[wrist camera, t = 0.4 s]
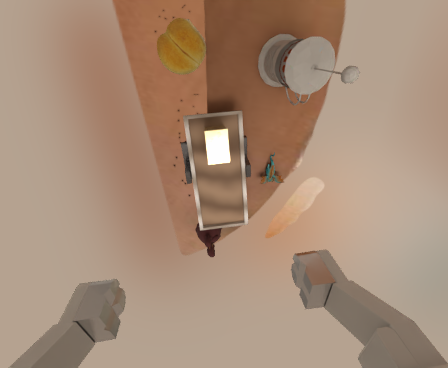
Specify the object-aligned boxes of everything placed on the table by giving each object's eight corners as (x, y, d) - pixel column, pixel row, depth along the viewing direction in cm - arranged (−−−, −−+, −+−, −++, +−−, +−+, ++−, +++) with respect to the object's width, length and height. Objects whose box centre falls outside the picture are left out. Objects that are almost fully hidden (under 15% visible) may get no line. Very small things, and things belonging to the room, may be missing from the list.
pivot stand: (181, 142, 52) (179, 158, 45) (245, 135, 53) (253, 150, 46) (187, 177, 58) (186, 196, 50) (246, 170, 59) (253, 188, 51)
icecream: (221, 217, 67) (227, 257, 54) (198, 222, 67) (199, 263, 54) (217, 200, 63) (222, 239, 51) (192, 206, 63) (192, 245, 51)
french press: (304, 28, 42) (410, 11, 21) (302, 90, 49) (383, 123, 28) (255, 39, 42) (314, 33, 21) (260, 99, 49) (309, 139, 28)
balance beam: (184, 115, 44) (183, 116, 41) (239, 110, 45) (242, 110, 42) (200, 223, 54) (200, 230, 51) (245, 217, 54) (248, 224, 51)
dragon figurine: (255, 154, 60) (256, 182, 61) (261, 152, 53) (262, 185, 53) (278, 153, 60) (279, 181, 61) (287, 151, 53) (288, 183, 54)
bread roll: (150, 50, 41) (146, 49, 38) (181, 10, 39) (180, 5, 35) (183, 84, 45) (182, 86, 41) (213, 49, 42) (215, 48, 39)
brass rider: (204, 127, 43) (204, 131, 37) (223, 125, 44) (227, 128, 37) (207, 156, 46) (208, 164, 39) (226, 154, 46) (230, 162, 39)
